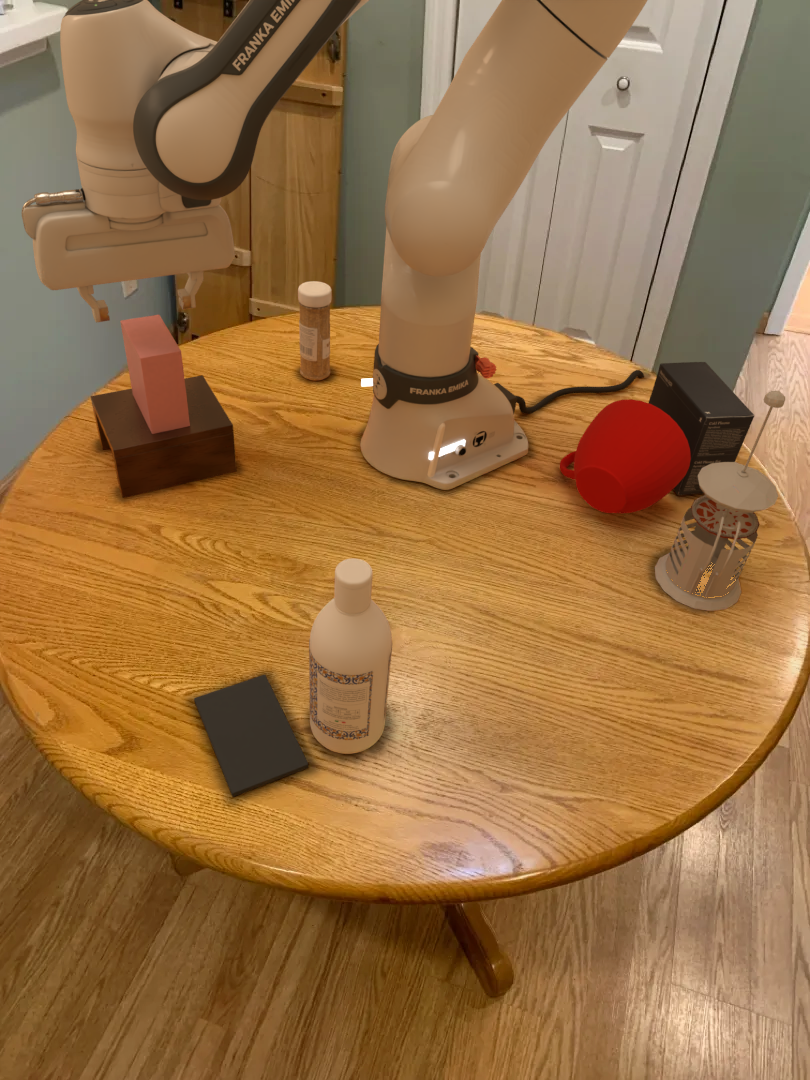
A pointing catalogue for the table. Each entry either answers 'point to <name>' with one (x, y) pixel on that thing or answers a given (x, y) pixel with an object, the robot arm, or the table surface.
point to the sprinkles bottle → (314, 329)
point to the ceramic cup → (628, 457)
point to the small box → (701, 416)
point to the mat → (250, 735)
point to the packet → (156, 373)
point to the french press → (718, 530)
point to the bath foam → (349, 664)
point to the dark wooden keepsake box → (165, 441)
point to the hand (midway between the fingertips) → (145, 313)
